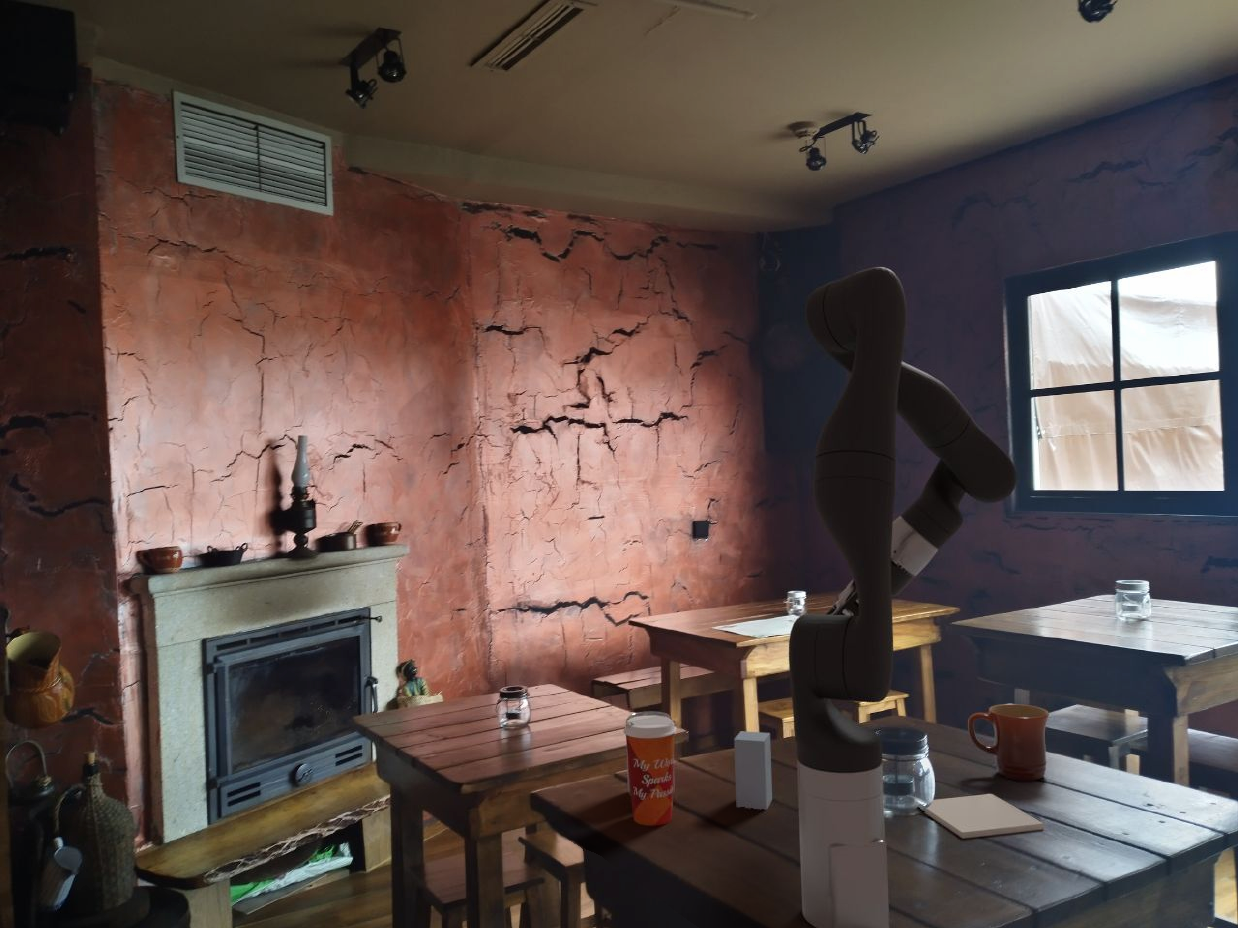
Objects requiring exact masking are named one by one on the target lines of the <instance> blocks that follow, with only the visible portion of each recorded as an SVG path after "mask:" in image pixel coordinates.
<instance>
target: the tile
mask: <svg viewBox="0 0 1238 928" xmlns="http://www.w3.org/2000/svg"><path fill="white" fill-rule="evenodd" d="M932 800H933V802H932V804H931V805H930V806H929V807H928V808H926V811H925V812H924V813H925V814H926V815H927V816H929V817H931V818H932V819H933V820H935V821H936V822H938V823H940V824H941V825H942V826H943V827H945V828H947V829H948V830H950V832H953V833H954V834H956V835H957V836H958V837H960V838H961V839H963V840H964V839H970V838H972V839H973V838H979V837H980V838H981V837H988V836H989V837H990V836H998V835H1006V834H1007V835H1008V834H1014V833H1022V832H1023V833H1024V832H1025V833H1026V832H1032V831H1040V830H1041V831H1042V830H1044V829H1045V828H1044V823H1043V822H1042V821H1040V820H1038V819H1036V818H1035V817H1033V816H1031V815H1029V814H1028V813H1026V812H1024V811H1022V810H1021V809H1020V808H1017V807H1015V806H1013V805H1012V804H1010V802H1007V801H1005V800H1003V799H1001V798H1000V797H999V796H997V795H995V794H993V793H985V794H978V795H968V796H958V797H948V798H947V797H946V798H938V799H932Z"/></svg>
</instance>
